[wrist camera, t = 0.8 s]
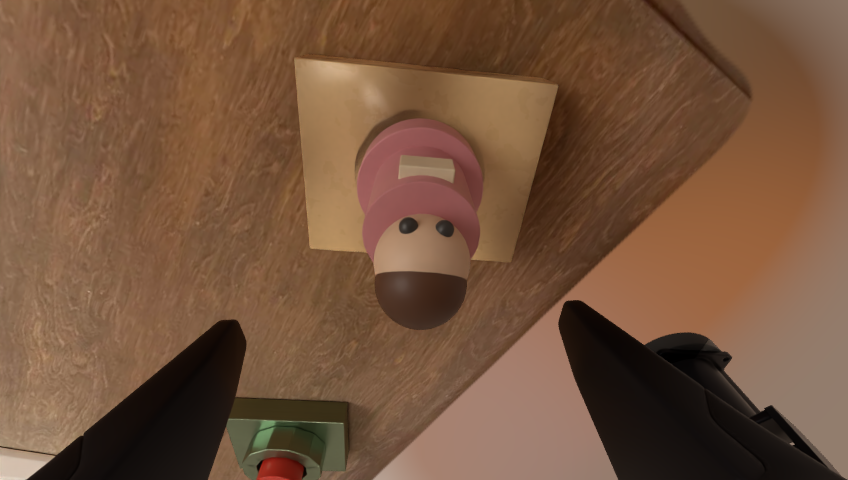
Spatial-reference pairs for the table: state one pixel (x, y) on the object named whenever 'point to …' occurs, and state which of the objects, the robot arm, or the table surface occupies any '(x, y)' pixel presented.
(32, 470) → the white cartoon figure
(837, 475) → the robot arm
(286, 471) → the button
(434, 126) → the doll
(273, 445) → the green button box
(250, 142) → the table surface
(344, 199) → the doll stand
